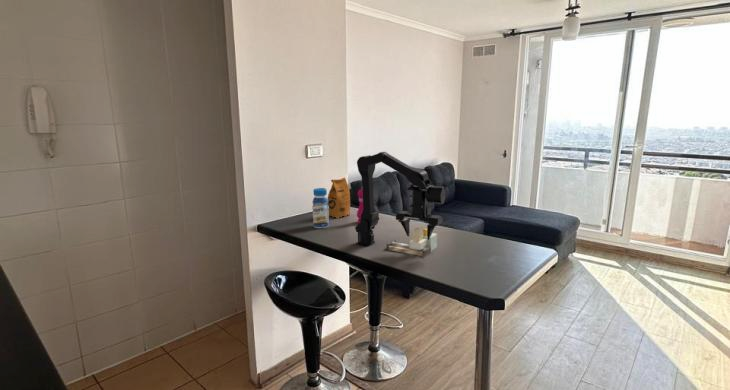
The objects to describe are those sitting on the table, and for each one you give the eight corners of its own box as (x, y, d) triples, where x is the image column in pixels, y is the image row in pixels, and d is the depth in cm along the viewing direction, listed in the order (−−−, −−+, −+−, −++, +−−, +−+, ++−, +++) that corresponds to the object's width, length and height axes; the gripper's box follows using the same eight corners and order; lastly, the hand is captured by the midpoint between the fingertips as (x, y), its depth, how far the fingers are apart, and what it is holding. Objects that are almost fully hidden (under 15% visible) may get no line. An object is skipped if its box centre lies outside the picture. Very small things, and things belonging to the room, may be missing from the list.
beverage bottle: (332, 225, 205) (331, 188, 201) (322, 229, 198) (321, 191, 194) (320, 223, 209) (318, 187, 206) (309, 227, 202) (308, 189, 199)
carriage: (409, 247, 161) (409, 229, 160) (415, 243, 166) (415, 226, 165) (420, 249, 159) (421, 231, 157) (426, 245, 164) (426, 228, 162)
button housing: (415, 249, 168) (415, 235, 166) (422, 244, 174) (422, 231, 173) (430, 251, 164) (430, 238, 163) (436, 246, 170) (437, 233, 169)
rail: (386, 249, 168) (386, 243, 167) (393, 245, 173) (393, 240, 172) (425, 256, 158) (425, 250, 158) (430, 252, 163) (430, 246, 163)
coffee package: (325, 216, 224) (324, 179, 220) (340, 212, 233) (340, 176, 229) (337, 219, 218) (336, 180, 213) (352, 215, 227) (352, 178, 222)
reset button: (421, 241, 168) (421, 229, 167) (424, 239, 171) (424, 228, 170) (428, 242, 166) (428, 231, 165) (431, 240, 169) (431, 229, 168)
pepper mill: (368, 224, 207) (368, 187, 203) (355, 223, 208) (355, 187, 204) (371, 221, 214) (371, 185, 210) (358, 220, 215) (358, 184, 211)
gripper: (447, 200, 161) (446, 236, 164) (407, 195, 170) (406, 229, 173) (437, 205, 151) (436, 243, 154) (395, 200, 161) (395, 236, 164)
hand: (418, 237), depth 162 cm, fingers open, 9 cm apart
